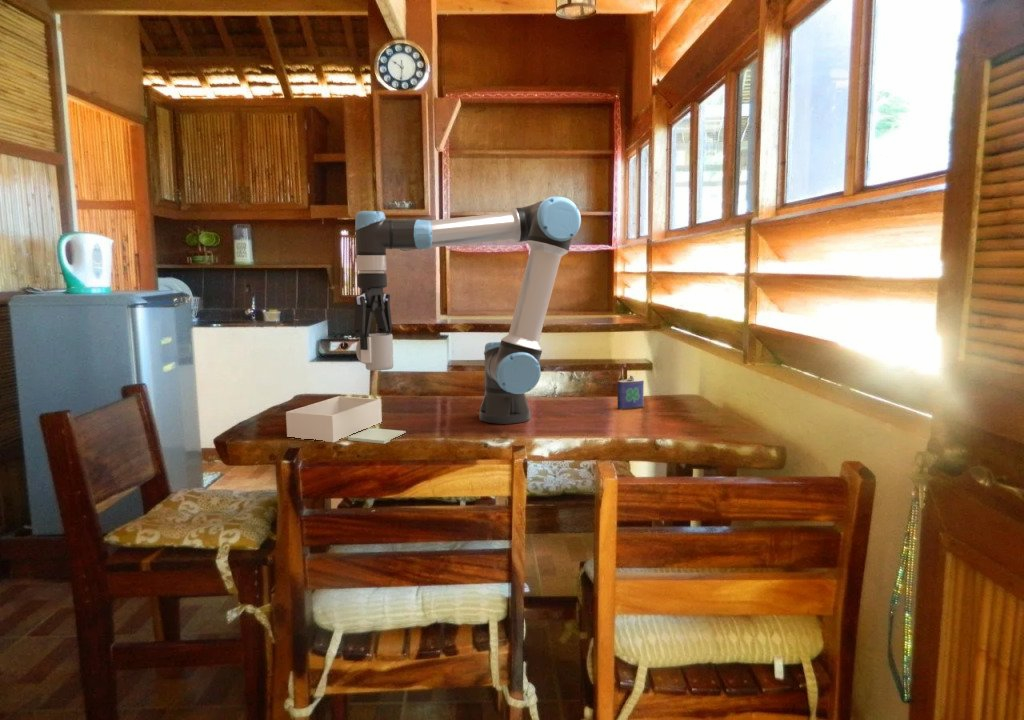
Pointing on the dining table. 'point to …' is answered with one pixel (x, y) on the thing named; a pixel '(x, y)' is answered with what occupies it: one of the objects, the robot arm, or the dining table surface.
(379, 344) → the cup
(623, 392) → the flask
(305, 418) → the crate
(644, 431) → the dining table surface
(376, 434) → the tile
